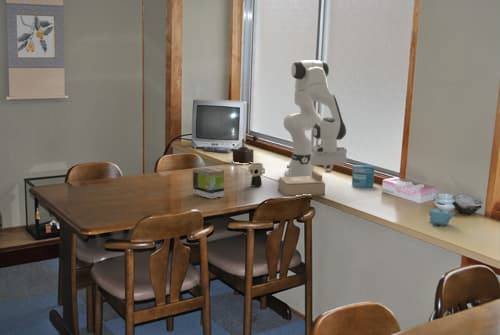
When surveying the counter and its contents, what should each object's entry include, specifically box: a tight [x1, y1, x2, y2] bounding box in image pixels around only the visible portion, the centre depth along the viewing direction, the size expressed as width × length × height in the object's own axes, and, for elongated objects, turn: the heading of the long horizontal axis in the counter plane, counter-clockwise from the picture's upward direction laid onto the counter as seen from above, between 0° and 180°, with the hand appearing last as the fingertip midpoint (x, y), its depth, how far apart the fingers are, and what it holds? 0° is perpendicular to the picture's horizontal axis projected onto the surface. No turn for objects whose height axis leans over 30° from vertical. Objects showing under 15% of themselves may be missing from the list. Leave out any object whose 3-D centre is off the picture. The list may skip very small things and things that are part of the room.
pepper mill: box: [232, 135, 259, 163], centre depth 434 cm, size 16×11×18 cm
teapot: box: [428, 208, 456, 228], centre depth 295 cm, size 12×6×8 cm, turn 60°
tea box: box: [192, 166, 225, 199], centre depth 344 cm, size 15×10×15 cm
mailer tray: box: [277, 178, 326, 198], centre depth 353 cm, size 15×22×6 cm
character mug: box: [247, 162, 266, 187], centre depth 367 cm, size 11×7×13 cm, turn 58°
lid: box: [278, 170, 325, 184], centre depth 352 cm, size 15×21×4 cm
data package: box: [351, 164, 375, 189], centre depth 369 cm, size 12×4×12 cm, turn 78°
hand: (328, 172), depth 355 cm, fingers closed
